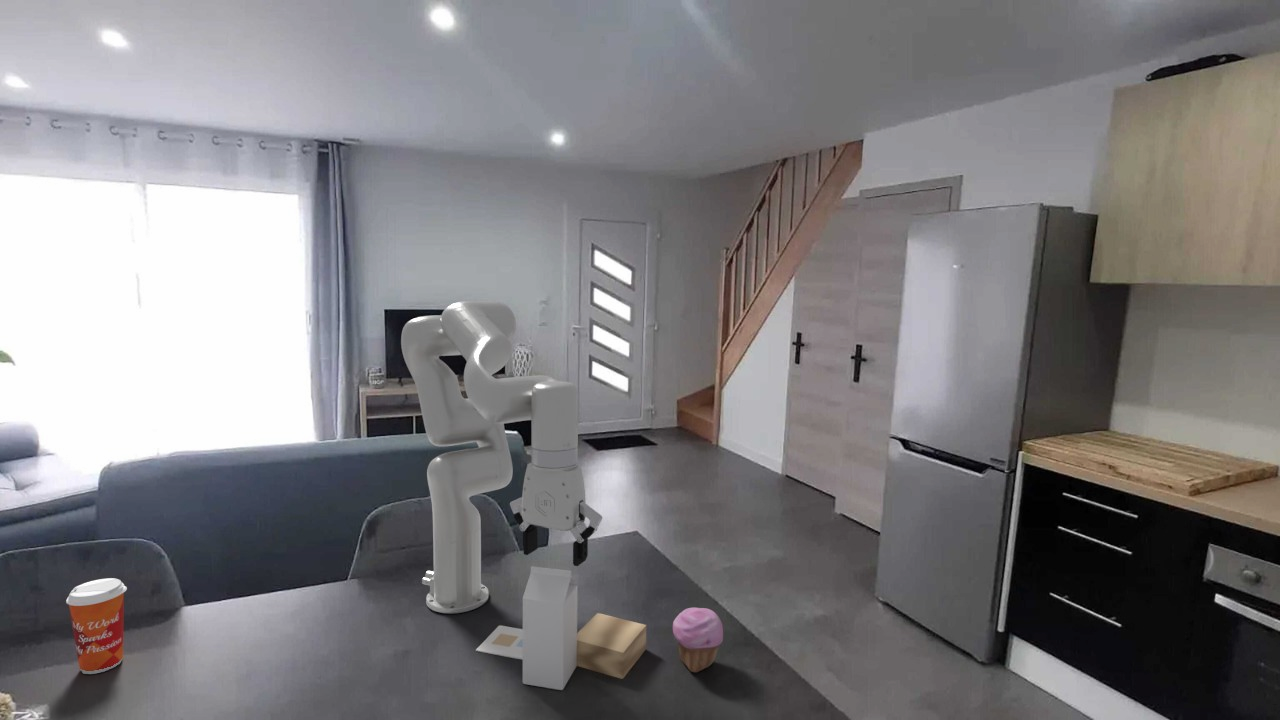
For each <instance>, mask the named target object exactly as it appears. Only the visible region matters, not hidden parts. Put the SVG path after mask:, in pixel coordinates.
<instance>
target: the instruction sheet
mask: <svg viewBox="0 0 1280 720" xmlns="http://www.w3.org/2000/svg"><path fill="white" fill-rule="evenodd" d="M475 652H480V653H485V654H491V655H496V656H501V657H506V658H510V659H511V658H512V659H516V660H517V659H518V660H522V661H523V628H518V627H510V626H505V625H501V624H499V625H498V626H497V627H496V628H495V629H494V630H493V631H492V632H491V633H490V634H489V635H488V636H487V638H486V639H485V640H484V641H483V642H482V643H481V644H480V645H479V646H478V647H477V648H476V649H475Z"/></svg>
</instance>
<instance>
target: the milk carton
mask: <svg viewBox="0 0 1280 720" xmlns="http://www.w3.org/2000/svg"><path fill="white" fill-rule="evenodd" d="M578 586H579V585H578V583H577V582H576V581H575V579H573V577H572V570H569V569H568V570H567V569H562V568H561V569H559V568H554V567H544V566H543V567H542V566H537V565H531V566H530V574H529V577H528V580H527V583H526V586H525V589H524V593H523V596H522V629H523V660H522V684H523V685H530V686H535V687H540V688H545V689H552V690H558V691H563V690H564V689H565V687H566V685H567V684H568V682H569V680H570V679H571V676H573V673H574V671H575V670H576V668H577V667H578V666H577V633H578V588H579V587H578Z"/></svg>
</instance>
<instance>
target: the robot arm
mask: <svg viewBox="0 0 1280 720" xmlns="http://www.w3.org/2000/svg"><path fill="white" fill-rule="evenodd" d="M516 328H517V322H516V316H515V314H514V312H513V310H512V309H511V308H510V307H509V306H508V305H507V304H506V303H504V302H500V301H487V300H486V301H484V300H483V301H477V300H476V301H471V300H469V301H467V300H466V301H457V302H454V303H452V304H450V305H448V306H447V307H446V308H444V310H443V311H442V313H441V314H440V315H423V316H417V317H415V318H412V319H410V320H408V321H407V322H406V323H405V324H404V326H403V328H402V331H401V337H400V338H401V339H400V345H401V347H400V348H401V352H402V353H401V354H402V355H403V356H402V357H403V359H404V362H405V364H406V367H407V369H408V371H409V373H410V375H411V377H412V379H413V381H414V384H415V387H416V390H417V395H418V401H419V404H420V405H419V407H420V410H421V415H422V416H421V417H422V420H423V425H424V429H425V433H426V437H427V439H428V441H429V442H430V444H432V445H434V446H436V447H450V446H452V447H453V446H459V445H466V444H471V443H476V444H477V446H478V447H474V448H465V449H461V450H455V451H449V452H445V453H442V454H439V455H438V456H435V458H433V459H432V460H431V461H430V462H429V464H428V466H427V470H426V477H427V478H426V479H427V484H428V490H429V494H430V495H429V496H430V500H431V508H432V509H431V511H432V537H433V538H432V539H433V541H432V547H433V548H432V549H433V570H431V569H430V570H429V569H428V570H427V571H426V572H425V575H424V577H423V578H422V579H421V584H423V585H426V586H429V592H428V593H427V594H426V598H425V600H426V601H425V603H426V606H427V607H428V608H429V609H430V610H432V611H433V612H438V613H441V614H460V613H466V612H470V611H472V610H475V609H478V608H479V607H481V606H483V605H484V604H485V603H486V602H487V601H488V599H489V588H488V587H487V586H486V585H484V584H483V583H482V539H481V538H482V527H481V526H482V525H481V521H482V520H481V514H480V513H479V512H480V511H479V510H478V509H477V508H476V506H475V505H474V504H473V503H472V502H471V500H470V497H472V496H473V497H474V496H476V495H479V494H483V493H488V492H492V491H497V490H500V489H503V488H506V487H507V486H508V485H509V484H510V483H511V481H512V478H513V461H512V456H511V451H510V447H509V442H508V438H507V435H506V429H505V425H504V424H510V423H516V422H522V421H524V422H525V421H531V426H530V427H531V432H530V433H531V445H530V446H527V448H526V450H525V451H526V454H527V455H529V456H530V457H531V459H530V460H531V462H529V463H527V464H526V468H525V473H524V477H523V478H524V479H523V485H522V495H521V497H518V498H517V499H516V498H515V500H512V501H510V503H509V505H510V509H511V511H512V514H513V518H514V520H515V521H516V522H517V524H518V525H519V530H520V531H521V532H522V547H523V555H525V556H529V555H530V554H532V553H533V552H535V551H536V550H538V527H541V528H545V529H550V530H556V531H561V532H562V531H563V532H569V531H570V533H571V534H572V536H573V538H574V539H575V541H574V542H573V543H572V565H573V566H574V567H578V566H580V565H582V564H583V563H584V562H585V561H586V560H587V558H588V556H589V555H588V554H589V551H588V550H589V545H588V543H589V538H590V537H592V536H593V534H594V533H596V532H597V530H598V528H599V526H600V525H601V522H602V520H603V516H602V515H601V514H600V513H599V512H597V511H596V510H595V509H593V508H592V507H591V506H590V505H588V504H587V502H586V488H585V482H584V481H585V480H584V474H583V470H582V465H580V464H579V463H578V461H579V458H578V456H579V455H578V454H579V452H578V451H579V450H578V448H579V445H578V444H579V443H578V441H579V439H578V435H579V433H578V432H579V421H578V420H579V392H578V387H577V386H576V385H575V384H574V383H573V382H569V381H564V380H563V381H562V380H557V379H555V378H553V377H551V376H549V375H546V374H545V375H541V374H538V375H529V376H528V375H527V376H526V375H524V376H513V377H510V376H509V377H504V378H503V377H502V378H495V377H494V376H493V375H494V374H496V373H497V372H499V371H500V370H502V368H504V367H505V366H506V364H508V362H509V361H510V359H511V356H512V353H513V351H512V350H513V347H512V342H511V341H510V340H511V339H512V338H513V336H514V335H515V332H516ZM442 356H443V357H446V356H447V357H449V356H462V357H463V358H464V359H465V361H466V363H465V367H464V371H463V385H464V389H465V393H466V396H467V398H464V396H463V395H462V392H461V387H460V384H459V379H458V376H457V375H456V373H455V372H454V371H453V370H452V369H451V368H450V367H449V365H447V363H445V362H444V361H443V360H442V359H440V357H442ZM586 518H587V519H588V520H589V523H588V526H587V524H586V523H585V521H586Z"/></svg>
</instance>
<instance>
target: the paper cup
mask: <svg viewBox="0 0 1280 720" xmlns="http://www.w3.org/2000/svg"><path fill="white" fill-rule="evenodd" d="M127 587H128V586H125V584H124V583H123V582H122V581H121V579H118V578H114V577H113V578H112V577H110V578H108V577H107V578H100V579H95V580H90V581H87V582H84V583H81V584H79V585H76V586H75V587H73V589H72V590H71V591H70V593H69V594H68V597H67V598H66V600H65V602H66V604H67V605H68V606H69V615H70V621H71V626H72V633H73V637H74V638H73V639H74V643H75V650H76V651H75V652H76V656H77V661H78V662H77V663H78V667H80V668H79V670H80V669H82V670H85V671H94V670H99V669H104V668H107V667H111V666H113V665H114V664H116V663H118V662H119V661H120V660H121V659H122V658H123V659H124V594H125V592H126V591H127V590H128V588H127Z"/></svg>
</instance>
